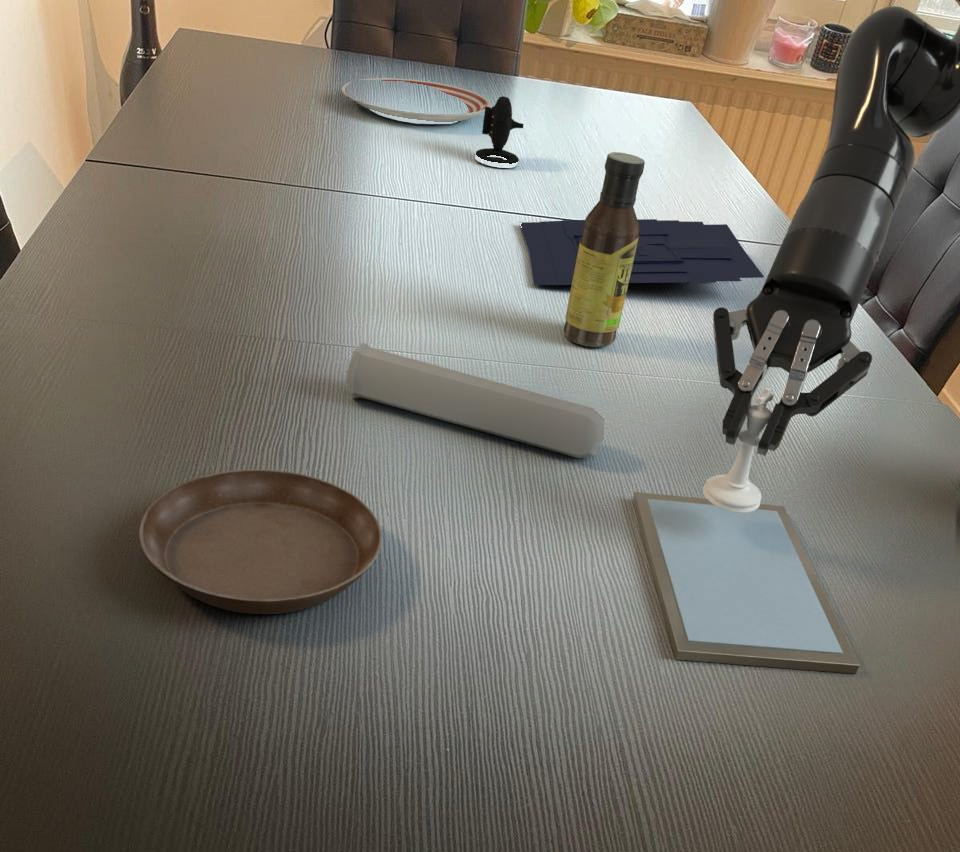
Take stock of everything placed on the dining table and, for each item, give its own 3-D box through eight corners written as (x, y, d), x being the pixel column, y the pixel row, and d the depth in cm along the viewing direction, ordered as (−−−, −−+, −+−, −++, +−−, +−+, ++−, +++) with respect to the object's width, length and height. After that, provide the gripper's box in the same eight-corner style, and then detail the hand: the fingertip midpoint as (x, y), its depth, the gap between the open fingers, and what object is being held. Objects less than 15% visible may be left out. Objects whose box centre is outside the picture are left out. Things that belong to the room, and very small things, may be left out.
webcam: (474, 153, 174) (482, 88, 167) (518, 159, 174) (527, 95, 168) (472, 165, 168) (480, 99, 161) (517, 172, 168) (527, 106, 162)
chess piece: (690, 490, 86) (724, 382, 80) (725, 475, 89) (761, 369, 83) (736, 519, 84) (775, 409, 77) (771, 502, 87) (811, 395, 80)
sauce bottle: (612, 355, 116) (653, 170, 104) (558, 344, 117) (593, 159, 104) (617, 334, 121) (657, 155, 109) (566, 323, 122) (599, 144, 109)
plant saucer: (226, 476, 86) (225, 444, 85) (416, 539, 83) (419, 507, 81) (91, 584, 73) (86, 549, 71) (310, 665, 70) (311, 630, 68)
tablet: (780, 514, 94) (784, 504, 93) (855, 674, 77) (860, 664, 76) (632, 500, 92) (634, 490, 91) (675, 660, 75) (678, 649, 75)
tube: (614, 407, 97) (371, 341, 101) (607, 413, 92) (352, 343, 96) (599, 461, 99) (361, 395, 103) (592, 470, 94) (342, 400, 98)
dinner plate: (316, 110, 181) (316, 90, 179) (375, 85, 202) (377, 66, 200) (460, 144, 177) (462, 123, 175) (506, 114, 198) (509, 95, 196)
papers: (764, 304, 131) (770, 276, 129) (532, 307, 130) (534, 278, 128) (720, 239, 150) (724, 213, 148) (517, 241, 149) (518, 215, 146)
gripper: (748, 203, 80) (662, 401, 79) (924, 251, 77) (836, 459, 76) (745, 253, 88) (666, 435, 87) (905, 299, 84) (825, 489, 83)
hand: (746, 445), depth 81 cm, fingers closed on chess piece
